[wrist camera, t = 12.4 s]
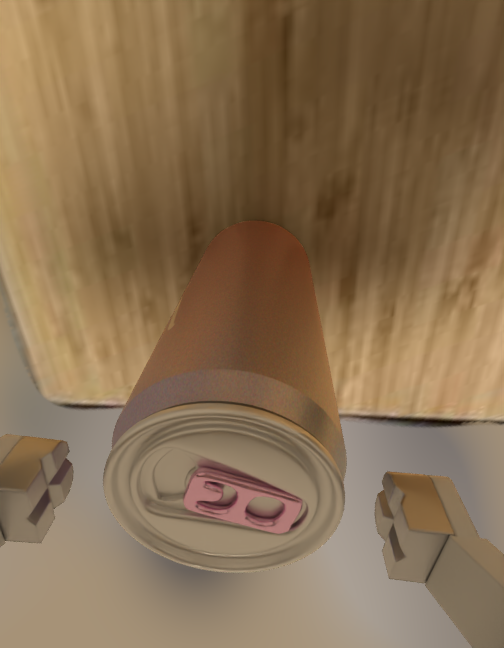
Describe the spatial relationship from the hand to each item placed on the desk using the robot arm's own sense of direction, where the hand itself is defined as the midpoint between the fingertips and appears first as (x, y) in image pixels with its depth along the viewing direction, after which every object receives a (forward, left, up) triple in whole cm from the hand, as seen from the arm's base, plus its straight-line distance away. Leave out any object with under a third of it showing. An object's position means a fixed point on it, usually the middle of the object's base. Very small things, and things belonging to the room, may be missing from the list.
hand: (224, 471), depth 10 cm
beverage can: (0, 0, -14) cm, 14 cm away
